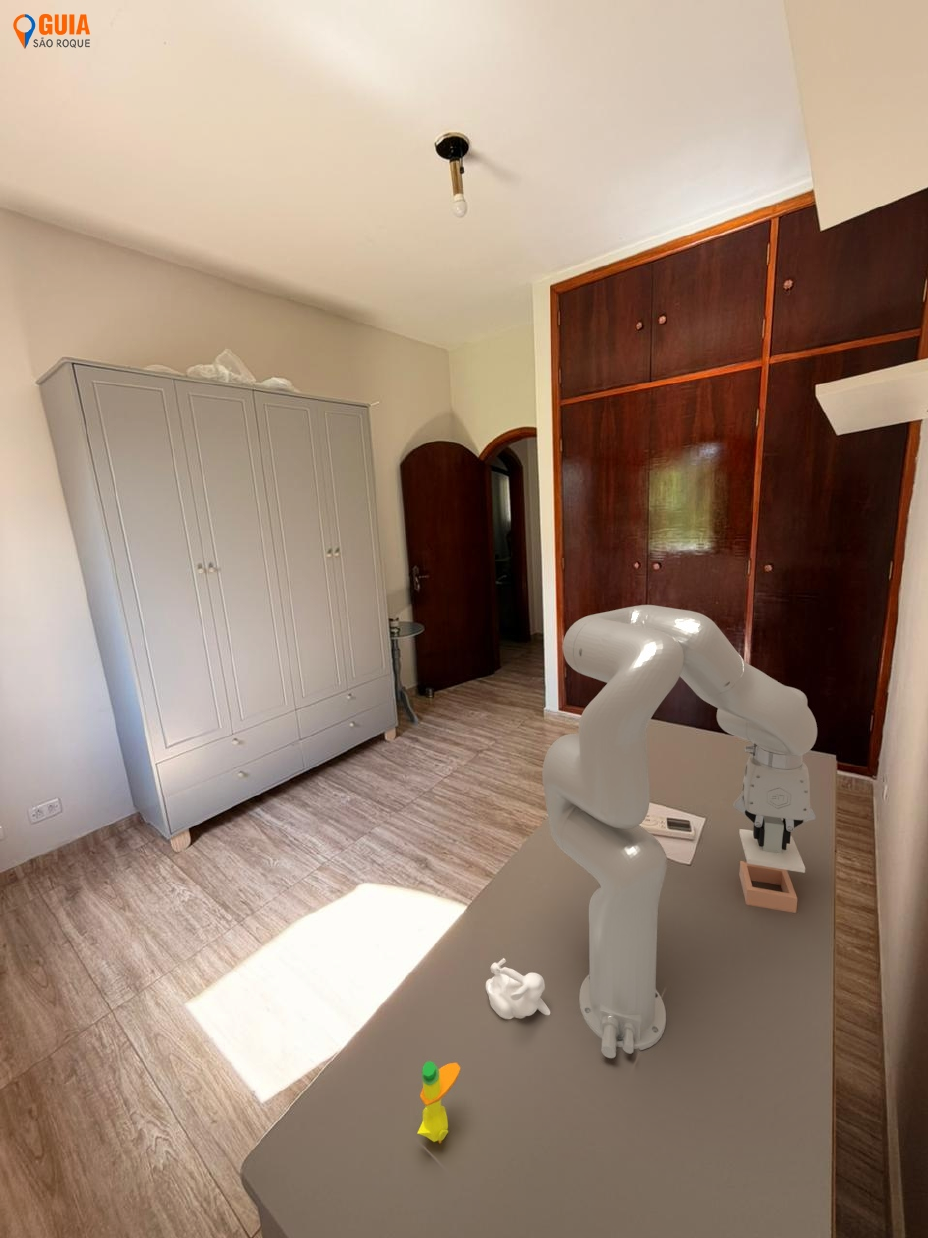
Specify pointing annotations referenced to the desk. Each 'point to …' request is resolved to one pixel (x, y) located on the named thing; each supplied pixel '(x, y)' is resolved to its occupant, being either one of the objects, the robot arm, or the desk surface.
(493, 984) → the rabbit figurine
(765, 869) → the square frame
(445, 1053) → the desk surface
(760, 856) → the lid
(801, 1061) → the desk surface
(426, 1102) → the toy figure
